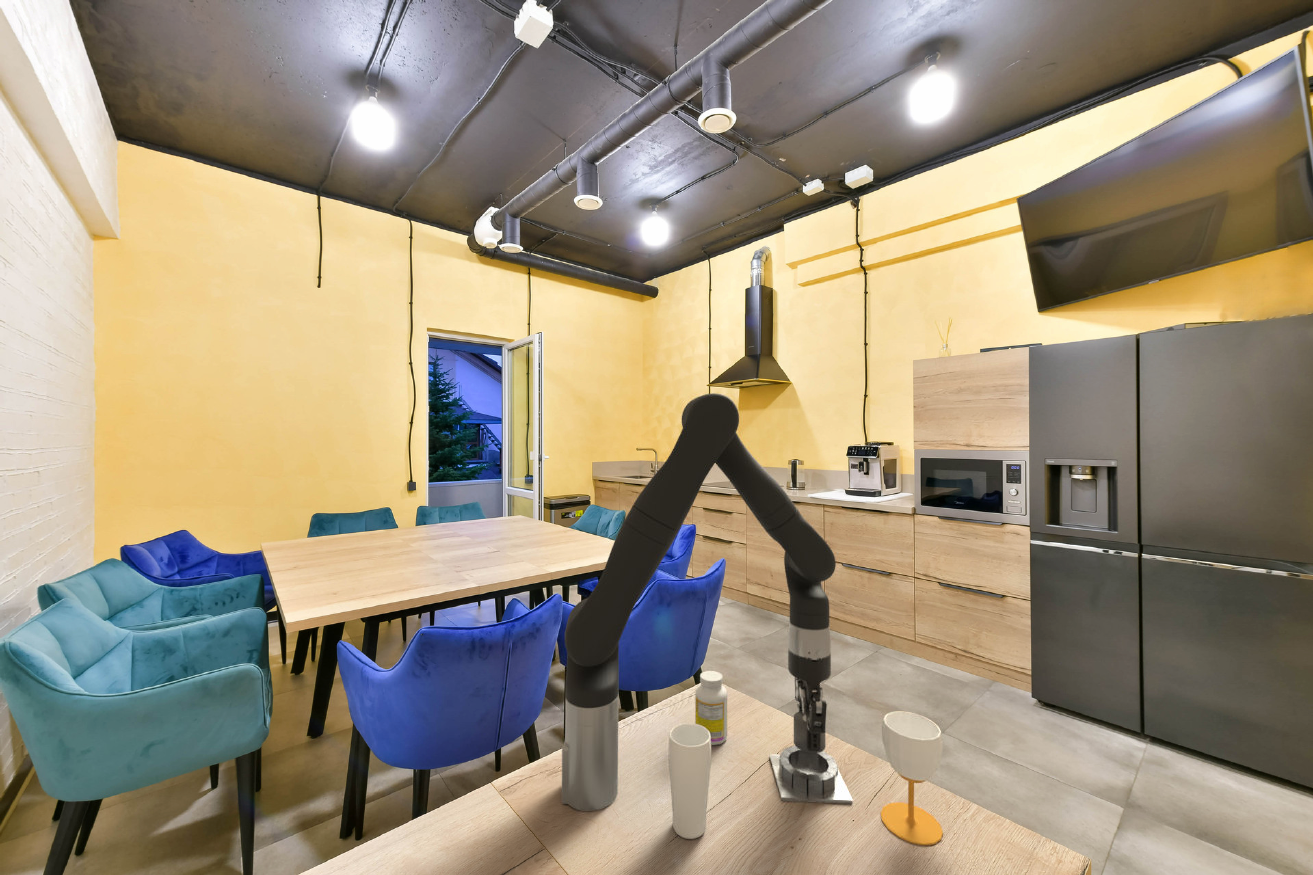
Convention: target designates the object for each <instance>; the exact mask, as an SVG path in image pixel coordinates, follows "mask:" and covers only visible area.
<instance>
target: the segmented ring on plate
mask: <svg viewBox="0 0 1313 875" xmlns="http://www.w3.org/2000/svg"><path fill="white" fill-rule="evenodd" d="M768 756H769V762H770V764H771V767H772V772H773V774H774V778H775V783H776V786H777V789H778V792H779V797H780V799H781V802H799V803H800V802H802V803H803V802H804V803H825V804H826V803H827V804H828V803H829V804H847V805H848V804H851V805H852V804H853V798H852V796H851V794H850V792H849V790H848V787H847V785H846V783H845V781H844V779H843V778H842V775H841V773H840V771H839V766H838V764H837V763H836V760H835V758H834V757H833V756H832V755H830V754H828V753H827V752H826V751H825V750H824V751H822V752H819V753H808V752H805V751H802V750H800V749H799V748H797V747H796V746H795V745H792V746H789V747H786V748H784V749H783V750H782V751H781V753H780V754H779V753H769V755H768Z"/></svg>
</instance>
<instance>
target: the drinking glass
mask: <svg viewBox="0 0 1313 875" xmlns="http://www.w3.org/2000/svg"><path fill="white" fill-rule="evenodd" d="M668 736H669V738H668V768H669V769H668V770H669V781H670V794H671V809H672V811H671V812H672V828H673V830H674V832H675V833H676V834H677V835H678V836H679V837H681V838H683V839H687V840H694V839H695V840H696V839H698V838H699V837H701V836H702V835H703V834H704V833H705V831H706V828H707V810H708V800H709V787H710V778H711V777H710V776H711V765H712V745H711V735H710V732H709V731H708V730H707V729H706V728H705V727H703V726H701V725H698V724H695V723H693V722H688V723H687V722H686V723H685V722H684V723H679V724H677V725H675V726H674V727H672V729H670V731H669V735H668Z"/></svg>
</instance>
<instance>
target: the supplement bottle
mask: <svg viewBox="0 0 1313 875" xmlns="http://www.w3.org/2000/svg"><path fill="white" fill-rule="evenodd" d="M699 677H700V678H699V679H700V680H699V682H700V684H699V685H698V686H697V687H696V689H695V696H694V697H695V699H694V700H695V702H694V704H695V718H694V719H695V720H694V722H695V723H694V724H698V725H701V726H703V727H705V728H706V729H707V730H708V731H709V732H710V735H711V746H719V745H721V744H723V743H724V742H725V741H726V740H727V738H728V691H727V689H726V687H725V686H724V685H723V682H724V679H723V678H724V677H723V674H722V673H720V672H719V671H713V670H706V671H703V672H701V673H700V675H699Z"/></svg>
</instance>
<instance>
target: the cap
mask: <svg viewBox="0 0 1313 875" xmlns="http://www.w3.org/2000/svg"><path fill="white" fill-rule="evenodd" d="M814 723H817V722H814ZM826 725H827V724H825V733H820V751H809V750H808V748H807V728H806V716H805V715H804V714H803V711H800V712H799V711H797V712H795V713H794V715H793V744H794V746H796V747H797V748H799V749H800V750H802V751H805V752H808V753H819V752H822V751H824V752H825V750H826V730H827V729H826Z"/></svg>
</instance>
